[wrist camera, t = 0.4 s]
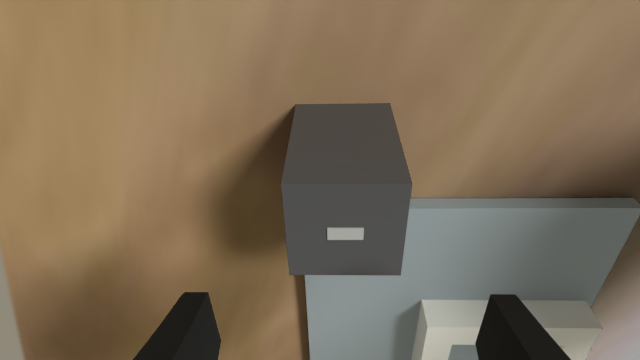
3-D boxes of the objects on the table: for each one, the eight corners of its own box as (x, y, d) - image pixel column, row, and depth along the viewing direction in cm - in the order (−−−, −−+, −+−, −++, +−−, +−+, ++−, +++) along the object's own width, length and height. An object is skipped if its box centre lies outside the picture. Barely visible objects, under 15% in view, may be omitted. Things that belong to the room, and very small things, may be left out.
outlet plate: (633, 197, 20) (669, 233, 18) (540, 381, 29) (557, 420, 26) (301, 198, 20) (297, 233, 18) (312, 378, 29) (310, 416, 27)
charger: (389, 103, 17) (412, 184, 12) (383, 180, 20) (400, 276, 15) (295, 104, 18) (280, 184, 12) (300, 181, 20) (289, 275, 15)
